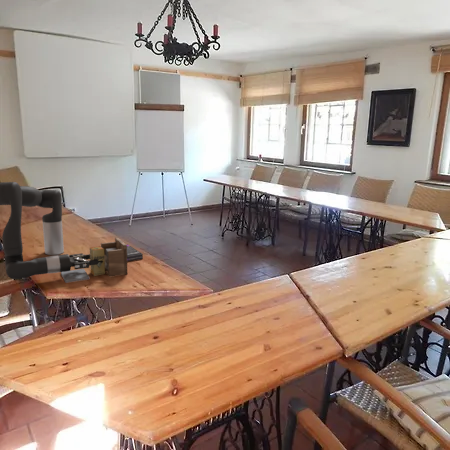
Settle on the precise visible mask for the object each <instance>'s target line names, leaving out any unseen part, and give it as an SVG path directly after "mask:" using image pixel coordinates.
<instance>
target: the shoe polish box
mask: <svg viewBox="0 0 450 450" xmlns="http://www.w3.org/2000/svg"><path fill="white" fill-rule="evenodd" d="M89 254H90V259H89V260H95V259H98V264H97V265H90V266H89V267H90V274H92V275H93V277H95V276H102V275H105V274H106V272H105V261H104V249H103V248H102V247H101V245H99V246H93V247H89Z"/></svg>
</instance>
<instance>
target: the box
mask: <svg viewBox="0 0 450 450" xmlns="http://www.w3.org/2000/svg"><path fill="white" fill-rule="evenodd" d="M126 245H127V263H128V262H131V261H138V260H142V259H143V258H144V257H143V255H144V254H143V253H142V252H141V251H139V250H138V249H136V248H134V247H133V246H131V245H130V244H126Z"/></svg>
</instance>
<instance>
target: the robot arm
mask: <svg viewBox="0 0 450 450" xmlns="http://www.w3.org/2000/svg"><path fill="white" fill-rule="evenodd" d="M0 206H10V214H9V215H10V216H9V219H8V221H7V223H6V225H5V227H4V228H3V230H2V231H3V232H2V236H1V237H2V240H1V241H2V249H3V254H4V262H5V263H4V264H5V265H4V266H5V272H6V275H7V277H8V278H9V279H13V280H21V279H25V278H30V277H33V276H37V275H38V276H39V275H47V274H58V273H61V272H65V271H71V269H72V267H73V268H74V270H78V269H88V268H90V267H91V266H90V265H97V264H98V259H95V260H90V253H89V254H84V253H82V252H81V253H75V254H69V253H66V254H63V253H65V252H64V251H65V249H64V248H65V247H64V234H63V233H64V231H63V208H62V207H63V198H62V193H61V191H60V190H56V189H40V190H39V189H38V188H36V187H34V186H30V185H29V186H28V185H24V186H23V185H20V184H19V183H18V182H16V181H4V182H0ZM36 206H37V207H40V208H42V209H52V211H51V212H50V213H45V214H43V215H42V218H41V220H42V231H43V243H44V244H43V245H44V246H43V247H44V254H45V255H48V256H45V257H38V258H37V257H36V258H34V259H32V260H26V261H25V260H24V256H23V252H24V251H23V239H22V216H23V215H22V214H23V213H22V212H23V207H25V208H26V207H27V208H29V207H30V208H33V207H36Z"/></svg>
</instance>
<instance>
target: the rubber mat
mask: <svg viewBox="0 0 450 450" xmlns="http://www.w3.org/2000/svg"><path fill="white" fill-rule="evenodd" d="M60 275H61V277H62V278H63V281H64V283H66V284H68V283H74V282H81V281H88V280H90V279H91V278H90V276H89V274H88V272H87V271H86V270H85V268H82V269H74V270H73V269H72V270H71V269H70V271H65V272H60Z"/></svg>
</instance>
